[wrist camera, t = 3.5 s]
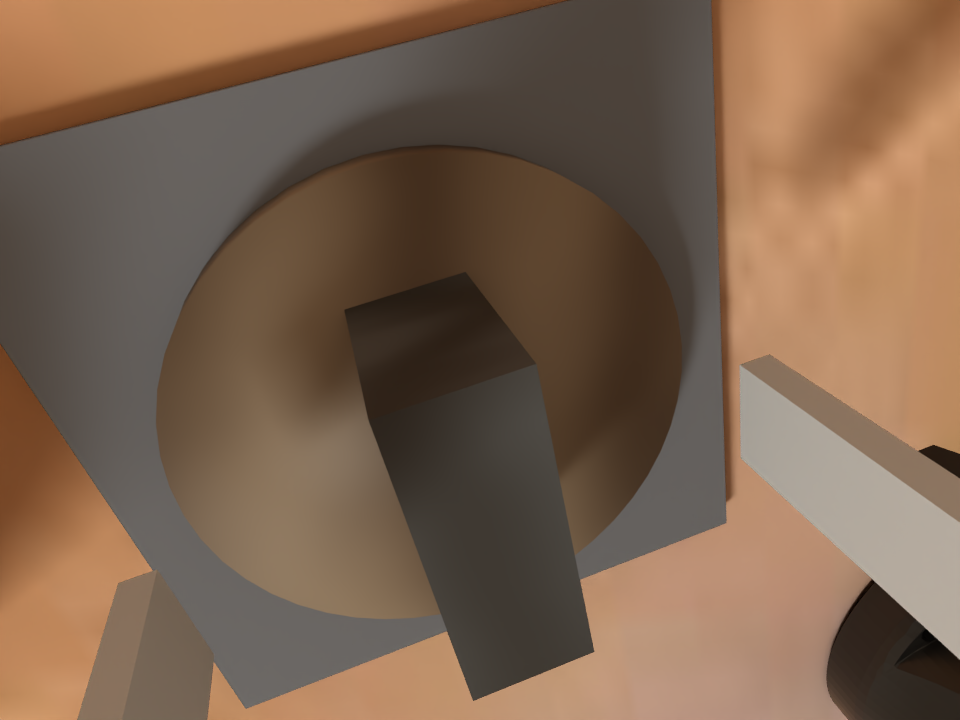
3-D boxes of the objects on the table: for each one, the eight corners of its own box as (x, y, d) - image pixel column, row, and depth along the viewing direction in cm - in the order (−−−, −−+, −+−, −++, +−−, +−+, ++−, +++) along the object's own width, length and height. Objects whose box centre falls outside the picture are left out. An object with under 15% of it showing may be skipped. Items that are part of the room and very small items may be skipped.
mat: (695, -33, 15) (710, -35, 15) (716, 512, 24) (726, 522, 24) (-97, 169, 13) (-112, 175, 13) (246, 693, 22) (245, 708, 21)
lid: (638, 77, 16) (823, 99, 10) (674, 500, 22) (796, 644, 17) (47, 243, 14) (-101, 374, 8) (284, 648, 21) (284, 861, 15)
